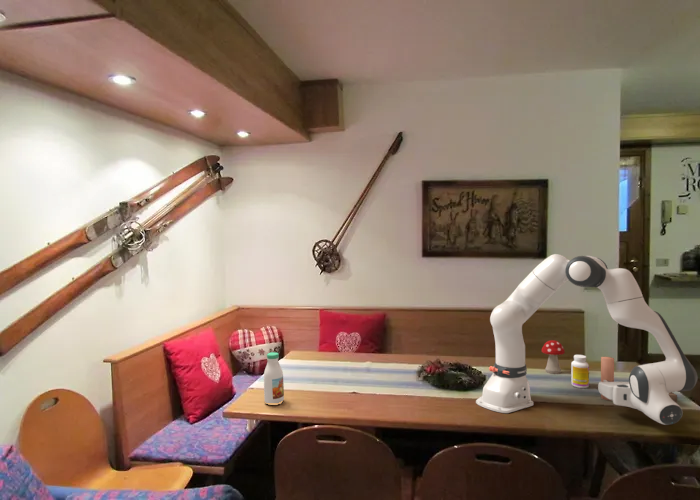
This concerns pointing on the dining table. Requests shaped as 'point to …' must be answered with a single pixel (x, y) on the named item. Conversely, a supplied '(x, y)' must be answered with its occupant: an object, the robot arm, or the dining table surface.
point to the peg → (607, 371)
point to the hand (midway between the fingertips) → (618, 381)
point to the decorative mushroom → (553, 356)
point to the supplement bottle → (580, 372)
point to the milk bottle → (273, 380)
